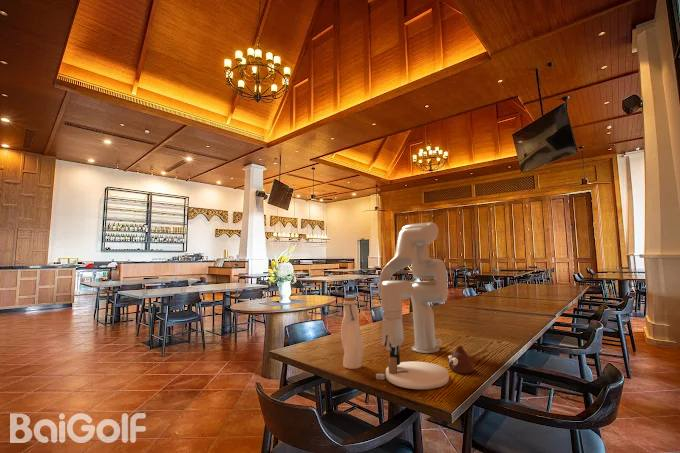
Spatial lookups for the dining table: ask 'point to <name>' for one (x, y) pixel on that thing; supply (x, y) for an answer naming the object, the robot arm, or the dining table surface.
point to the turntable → (416, 374)
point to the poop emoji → (460, 361)
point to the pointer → (380, 376)
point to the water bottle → (351, 334)
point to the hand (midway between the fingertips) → (395, 364)
